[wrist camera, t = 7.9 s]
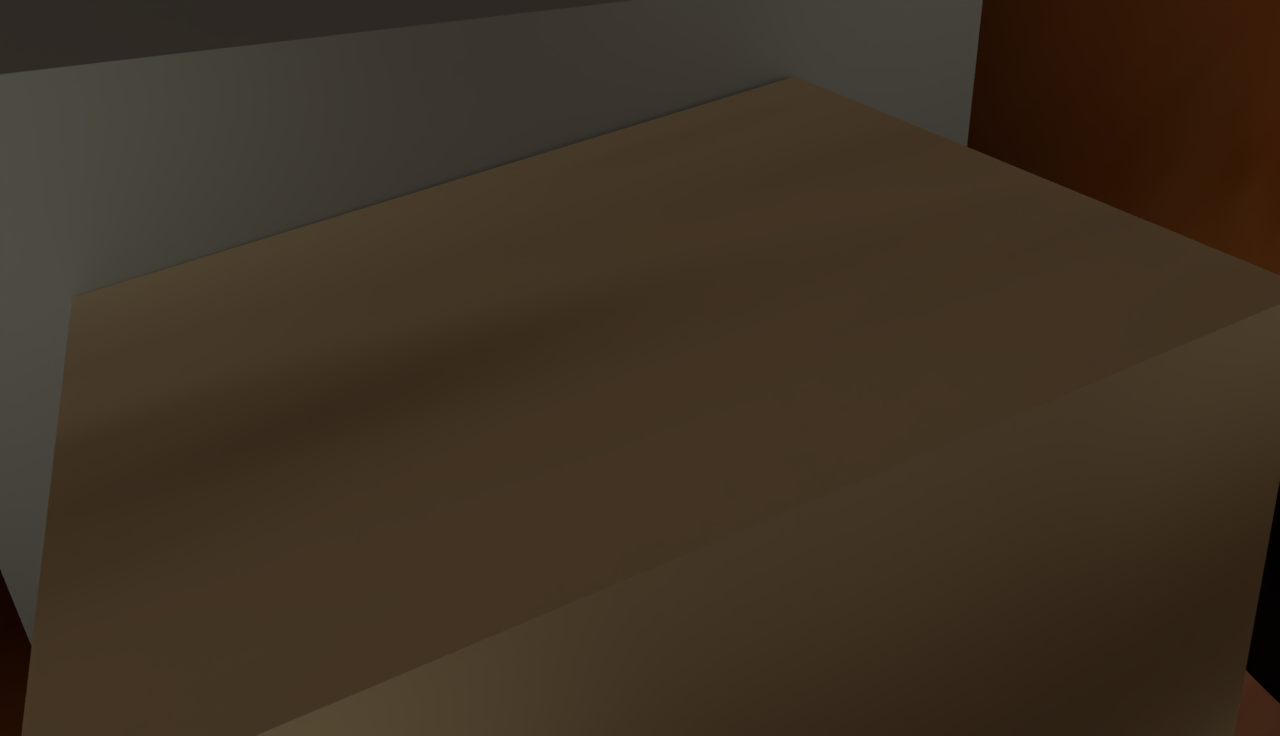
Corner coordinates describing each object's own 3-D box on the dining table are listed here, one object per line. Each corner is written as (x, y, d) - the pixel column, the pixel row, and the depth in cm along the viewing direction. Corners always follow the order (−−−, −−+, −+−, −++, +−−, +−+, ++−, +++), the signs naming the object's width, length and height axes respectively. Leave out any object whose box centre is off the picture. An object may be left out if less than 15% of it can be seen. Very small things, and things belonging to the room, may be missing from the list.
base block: (757, 527, 17) (907, 696, 14) (154, 711, 14) (167, 979, 11) (767, -81, 13) (987, -42, 10) (-91, 0, 10) (-193, 96, 7)
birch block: (843, 587, 12) (1190, 970, 8) (331, 816, 11) (453, 1422, 7) (795, 77, 9) (1313, 289, 5) (72, 297, 8) (11, 840, 4)
